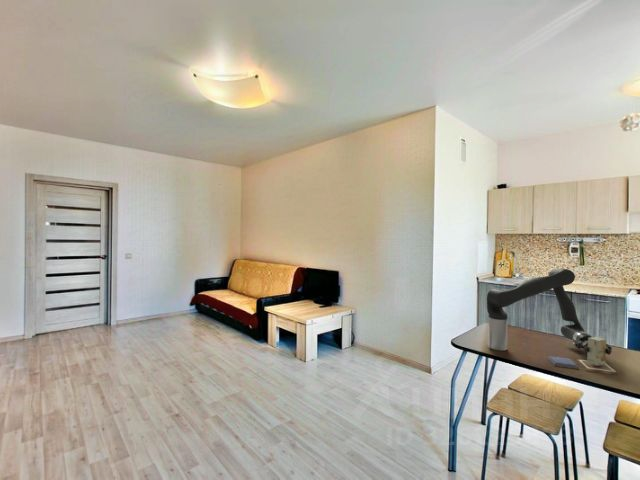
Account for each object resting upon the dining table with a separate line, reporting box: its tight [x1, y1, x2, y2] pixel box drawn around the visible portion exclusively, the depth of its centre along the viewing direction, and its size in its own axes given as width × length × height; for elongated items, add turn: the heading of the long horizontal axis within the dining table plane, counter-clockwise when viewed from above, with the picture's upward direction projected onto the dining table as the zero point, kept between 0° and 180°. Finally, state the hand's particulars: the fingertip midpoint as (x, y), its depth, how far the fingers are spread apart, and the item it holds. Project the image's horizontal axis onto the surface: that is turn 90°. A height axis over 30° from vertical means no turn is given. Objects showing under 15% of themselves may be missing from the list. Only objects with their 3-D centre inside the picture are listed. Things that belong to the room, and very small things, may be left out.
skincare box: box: [586, 336, 607, 365], centre depth 151 cm, size 6×4×12 cm
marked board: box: [575, 358, 619, 376], centre depth 151 cm, size 12×12×1 cm
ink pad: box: [547, 355, 580, 370], centre depth 156 cm, size 10×10×2 cm
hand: (598, 351), depth 149 cm, fingers closed on skincare box, 7 cm apart
